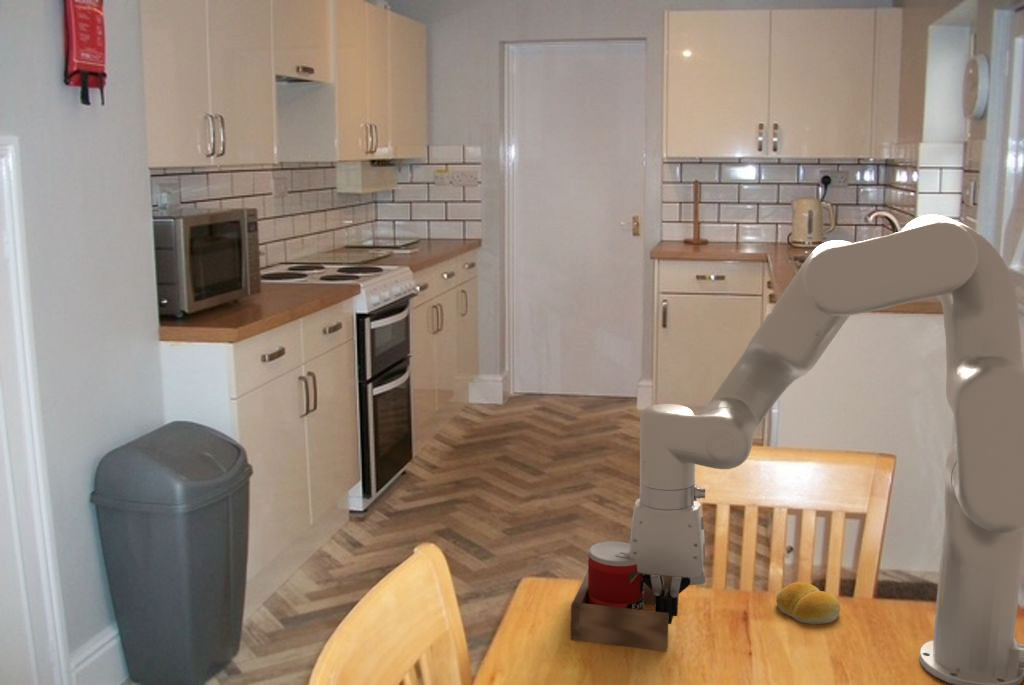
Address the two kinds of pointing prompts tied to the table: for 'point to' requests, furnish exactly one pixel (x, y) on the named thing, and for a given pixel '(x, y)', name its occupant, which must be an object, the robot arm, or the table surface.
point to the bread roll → (808, 603)
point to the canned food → (614, 577)
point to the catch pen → (619, 622)
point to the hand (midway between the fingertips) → (666, 619)
